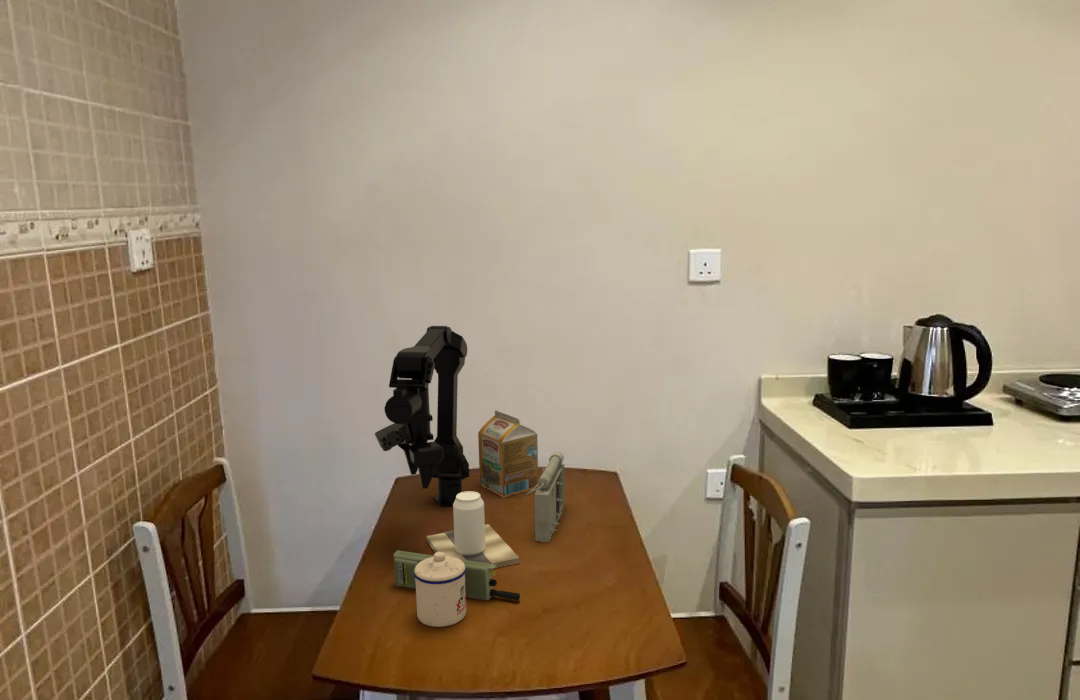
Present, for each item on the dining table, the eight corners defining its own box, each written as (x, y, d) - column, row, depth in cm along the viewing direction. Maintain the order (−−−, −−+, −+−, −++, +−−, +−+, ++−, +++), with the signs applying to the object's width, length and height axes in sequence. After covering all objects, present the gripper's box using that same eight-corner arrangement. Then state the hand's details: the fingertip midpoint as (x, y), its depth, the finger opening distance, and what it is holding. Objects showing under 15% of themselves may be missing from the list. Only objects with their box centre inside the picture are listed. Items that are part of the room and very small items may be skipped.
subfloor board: (427, 541, 172) (426, 535, 171) (488, 529, 177) (488, 523, 177) (452, 577, 155) (452, 571, 155) (519, 563, 161) (519, 556, 161)
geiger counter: (553, 480, 167) (572, 443, 191) (523, 479, 168) (546, 442, 192) (553, 543, 170) (572, 498, 194) (524, 541, 171) (546, 497, 195)
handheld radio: (402, 579, 156) (523, 598, 147) (393, 588, 153) (516, 608, 144) (399, 548, 154) (521, 565, 146) (391, 556, 151) (515, 574, 143)
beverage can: (491, 551, 163) (489, 496, 161) (466, 560, 159) (464, 504, 157) (474, 541, 168) (472, 487, 165) (449, 550, 164) (446, 495, 162)
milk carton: (480, 485, 203) (477, 413, 199) (514, 476, 209) (512, 406, 206) (503, 498, 195) (501, 422, 191) (538, 487, 201) (537, 414, 197)
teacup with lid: (469, 625, 138) (467, 563, 136) (416, 631, 137) (412, 567, 135) (465, 591, 150) (462, 533, 148) (415, 596, 148) (412, 537, 146)
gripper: (367, 404, 173) (372, 473, 176) (387, 427, 156) (392, 502, 159) (418, 398, 177) (421, 465, 180) (443, 419, 160) (446, 493, 163)
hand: (419, 481), depth 171 cm, fingers open, 9 cm apart
